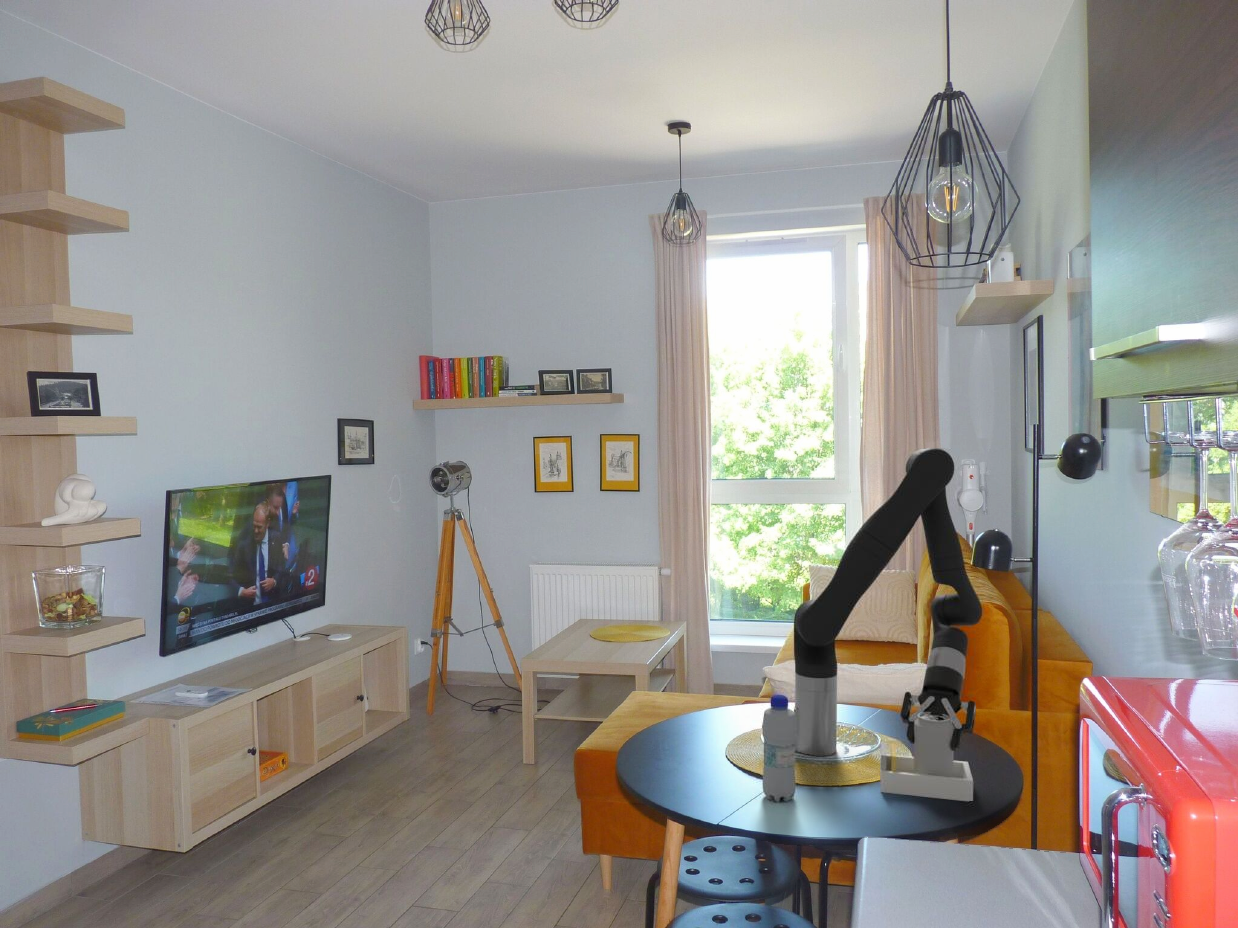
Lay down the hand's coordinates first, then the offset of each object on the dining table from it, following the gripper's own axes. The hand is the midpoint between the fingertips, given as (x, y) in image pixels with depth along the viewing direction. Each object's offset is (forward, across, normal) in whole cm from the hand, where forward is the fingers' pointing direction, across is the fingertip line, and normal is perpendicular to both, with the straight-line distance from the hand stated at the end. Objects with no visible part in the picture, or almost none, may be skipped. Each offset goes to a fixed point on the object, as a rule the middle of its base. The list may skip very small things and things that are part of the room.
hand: (932, 745), depth 179 cm
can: (+4, 0, +6) cm, 7 cm away
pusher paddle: (+6, -7, +5) cm, 11 cm away
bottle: (+20, -24, -8) cm, 33 cm away
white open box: (+6, -2, +7) cm, 9 cm away
